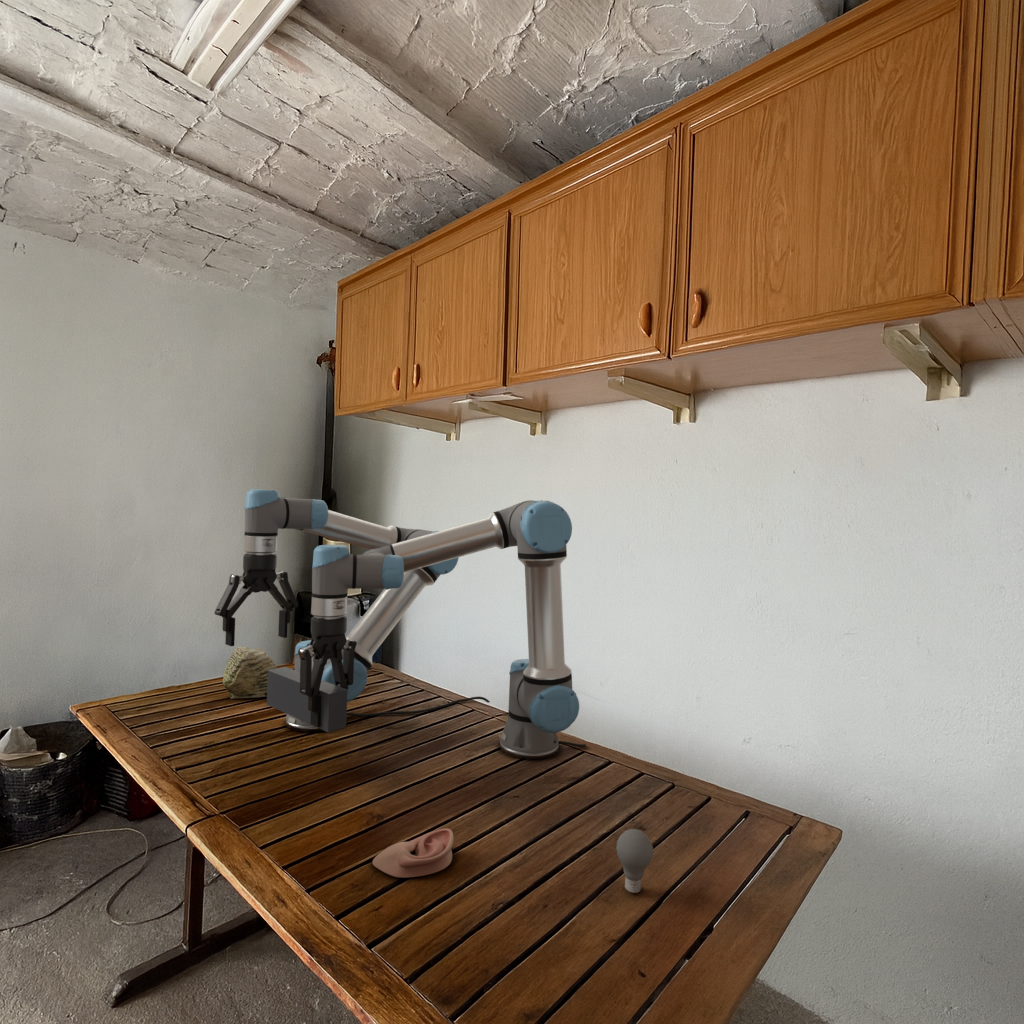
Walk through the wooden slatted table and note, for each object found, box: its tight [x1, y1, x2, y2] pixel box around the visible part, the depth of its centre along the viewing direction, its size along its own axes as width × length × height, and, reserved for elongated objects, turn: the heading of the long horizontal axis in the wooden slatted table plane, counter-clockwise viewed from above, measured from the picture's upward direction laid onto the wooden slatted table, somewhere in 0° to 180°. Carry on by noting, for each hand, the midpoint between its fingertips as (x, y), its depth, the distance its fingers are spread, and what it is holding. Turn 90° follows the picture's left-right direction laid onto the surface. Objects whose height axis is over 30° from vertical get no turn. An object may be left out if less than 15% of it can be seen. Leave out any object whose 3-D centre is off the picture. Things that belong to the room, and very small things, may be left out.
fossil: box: [222, 646, 278, 699], centre depth 198 cm, size 9×18×15 cm, turn 132°
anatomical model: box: [372, 828, 455, 879], centre depth 112 cm, size 13×4×12 cm
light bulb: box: [615, 828, 654, 894], centre depth 106 cm, size 6×6×10 cm
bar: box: [266, 666, 348, 733], centre depth 144 cm, size 25×5×8 cm, turn 50°
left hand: (257, 641), depth 153 cm, fingers open, 13 cm apart
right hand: (326, 721), depth 139 cm, fingers closed on bar, 5 cm apart
